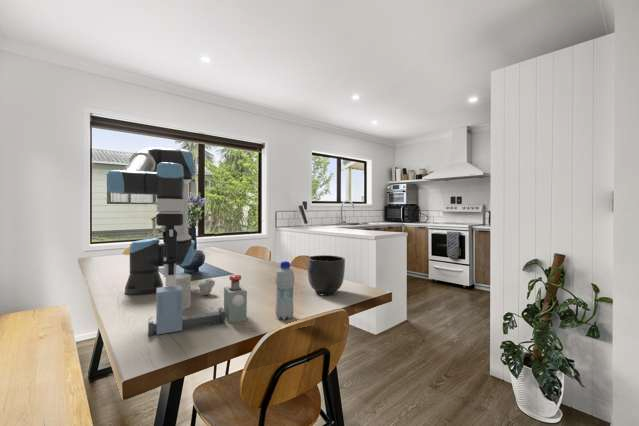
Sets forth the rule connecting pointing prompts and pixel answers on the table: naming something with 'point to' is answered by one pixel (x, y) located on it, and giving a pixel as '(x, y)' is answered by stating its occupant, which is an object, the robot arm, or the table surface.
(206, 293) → the frog figurine
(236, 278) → the plunger
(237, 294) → the cabinet
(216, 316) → the rail
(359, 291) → the table surface
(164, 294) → the carriage
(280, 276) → the bottle
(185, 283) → the cup
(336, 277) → the planter
